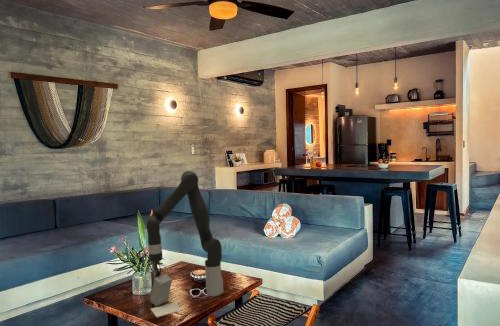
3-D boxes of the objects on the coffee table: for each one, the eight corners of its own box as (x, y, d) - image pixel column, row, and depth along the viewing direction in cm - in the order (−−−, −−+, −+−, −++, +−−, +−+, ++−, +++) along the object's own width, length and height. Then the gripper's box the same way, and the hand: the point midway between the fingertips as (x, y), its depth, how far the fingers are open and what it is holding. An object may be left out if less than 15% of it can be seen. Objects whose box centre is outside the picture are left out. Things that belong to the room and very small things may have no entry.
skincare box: (160, 296, 222) (165, 272, 218) (168, 302, 218) (173, 278, 214) (148, 300, 215) (153, 276, 211) (156, 308, 211) (160, 283, 207)
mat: (175, 302, 216) (175, 302, 216) (182, 310, 206) (182, 309, 206) (150, 309, 209) (150, 308, 209) (156, 317, 199) (156, 316, 199)
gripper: (165, 253, 211) (167, 283, 212) (158, 247, 223) (160, 277, 224) (151, 255, 208) (153, 286, 209) (145, 250, 219) (147, 279, 220)
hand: (157, 281), depth 216 cm, fingers closed
